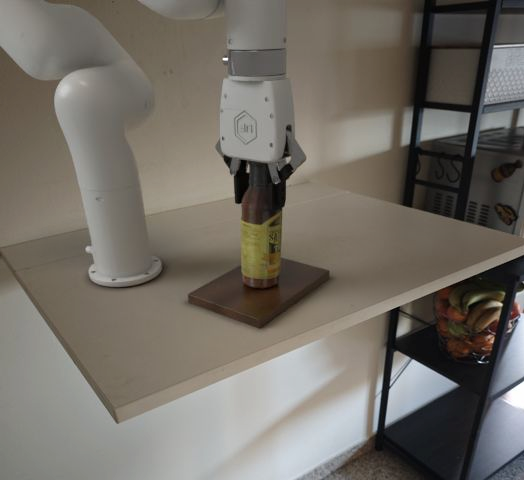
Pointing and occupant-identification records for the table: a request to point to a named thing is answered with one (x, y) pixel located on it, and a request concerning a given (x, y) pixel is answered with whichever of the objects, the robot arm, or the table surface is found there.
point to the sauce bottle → (260, 231)
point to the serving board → (258, 293)
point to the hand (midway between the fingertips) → (259, 204)
